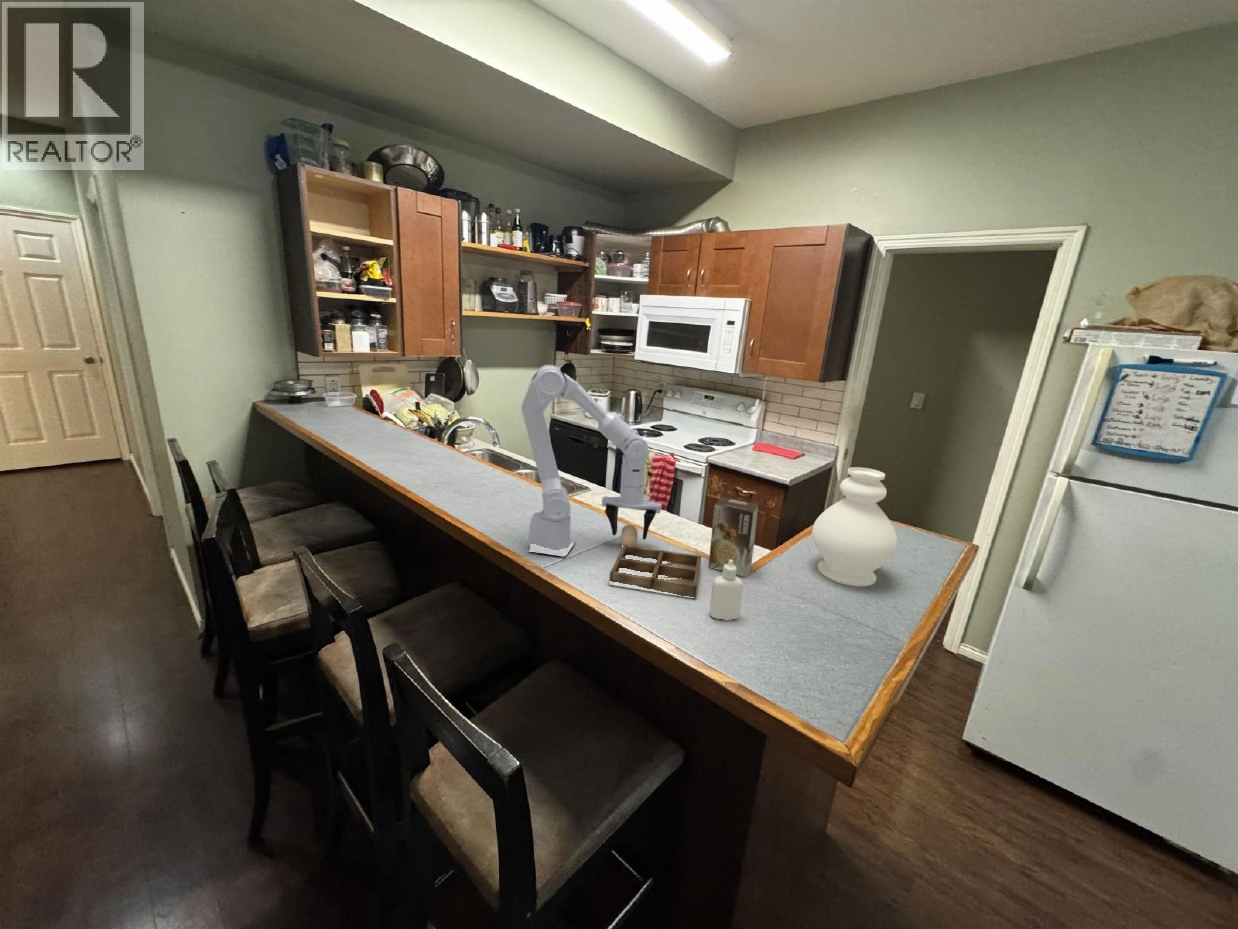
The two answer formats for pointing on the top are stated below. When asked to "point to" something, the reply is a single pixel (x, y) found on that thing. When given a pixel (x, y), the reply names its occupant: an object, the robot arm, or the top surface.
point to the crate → (659, 570)
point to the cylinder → (629, 535)
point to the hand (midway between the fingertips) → (629, 535)
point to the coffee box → (733, 534)
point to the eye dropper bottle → (726, 594)
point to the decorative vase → (855, 531)
